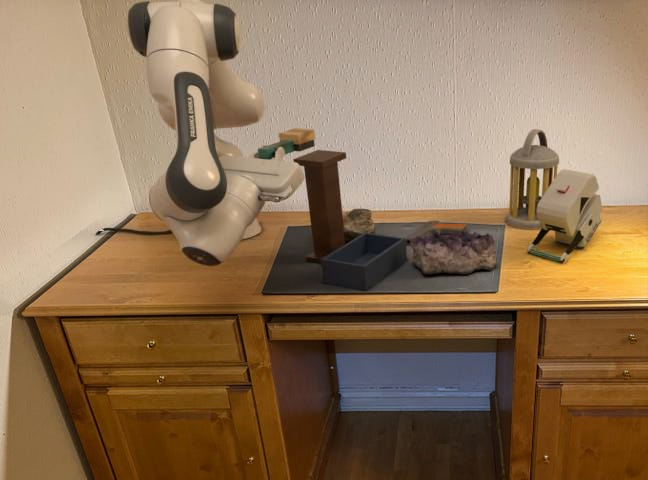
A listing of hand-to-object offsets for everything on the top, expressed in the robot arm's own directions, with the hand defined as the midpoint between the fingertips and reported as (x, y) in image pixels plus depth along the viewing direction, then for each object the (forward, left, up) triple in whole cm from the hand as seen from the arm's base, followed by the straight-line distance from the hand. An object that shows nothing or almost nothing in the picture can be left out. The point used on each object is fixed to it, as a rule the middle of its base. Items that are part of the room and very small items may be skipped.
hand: (273, 148), depth 135 cm
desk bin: (+11, +14, -31) cm, 35 cm away
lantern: (+36, +64, -31) cm, 79 cm away
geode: (+30, +24, -31) cm, 49 cm away
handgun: (+17, +42, -31) cm, 55 cm away
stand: (-2, +19, -31) cm, 36 cm away
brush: (0, +4, -2) cm, 4 cm away
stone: (-3, +33, -31) cm, 45 cm away
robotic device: (+51, +47, -31) cm, 76 cm away
